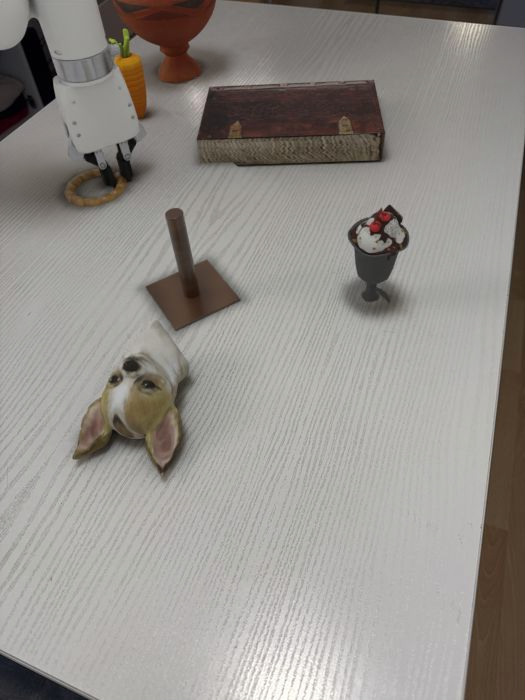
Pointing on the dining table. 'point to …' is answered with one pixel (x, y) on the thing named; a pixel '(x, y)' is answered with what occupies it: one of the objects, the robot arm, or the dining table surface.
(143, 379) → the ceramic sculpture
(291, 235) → the dining table surface
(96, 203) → the ring
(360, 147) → the hardback book
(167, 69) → the goblet
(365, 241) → the sundae
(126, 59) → the carrot
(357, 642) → the dining table surface
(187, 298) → the peg
